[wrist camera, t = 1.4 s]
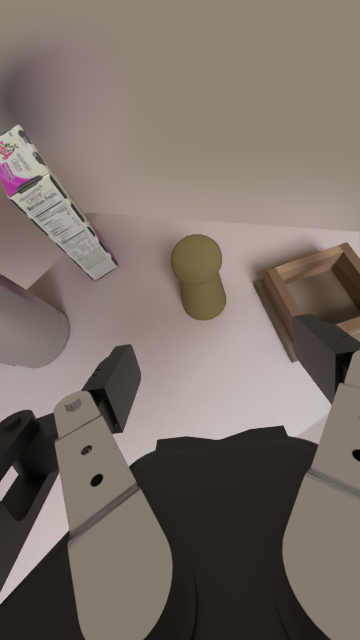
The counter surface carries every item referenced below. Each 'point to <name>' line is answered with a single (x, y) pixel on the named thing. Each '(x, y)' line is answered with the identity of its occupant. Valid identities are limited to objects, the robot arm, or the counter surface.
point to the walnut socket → (314, 292)
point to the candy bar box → (50, 204)
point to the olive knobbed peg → (199, 276)
